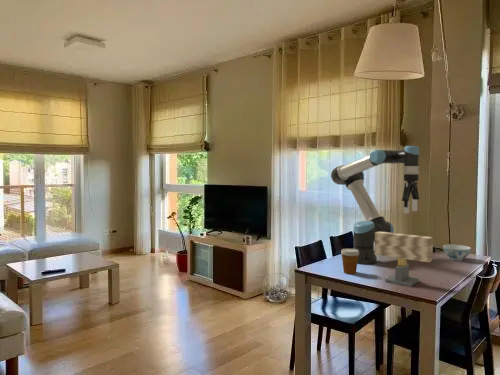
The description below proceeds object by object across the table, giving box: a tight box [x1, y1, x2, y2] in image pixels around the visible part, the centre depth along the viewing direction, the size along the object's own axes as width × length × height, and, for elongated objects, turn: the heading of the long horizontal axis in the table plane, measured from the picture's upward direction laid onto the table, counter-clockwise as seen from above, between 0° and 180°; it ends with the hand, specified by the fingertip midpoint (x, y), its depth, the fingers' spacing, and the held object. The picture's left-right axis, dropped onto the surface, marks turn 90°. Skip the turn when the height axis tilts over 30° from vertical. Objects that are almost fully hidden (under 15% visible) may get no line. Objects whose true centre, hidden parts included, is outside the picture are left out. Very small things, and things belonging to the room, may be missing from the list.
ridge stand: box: [384, 258, 420, 288], centre depth 189 cm, size 12×12×12 cm
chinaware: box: [442, 243, 472, 262], centre depth 234 cm, size 15×15×8 cm
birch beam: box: [374, 231, 434, 263], centre depth 189 cm, size 26×5×11 cm, turn 49°
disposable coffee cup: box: [340, 248, 359, 275], centre depth 206 cm, size 10×10×12 cm
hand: (410, 212), depth 217 cm, fingers open, 13 cm apart
